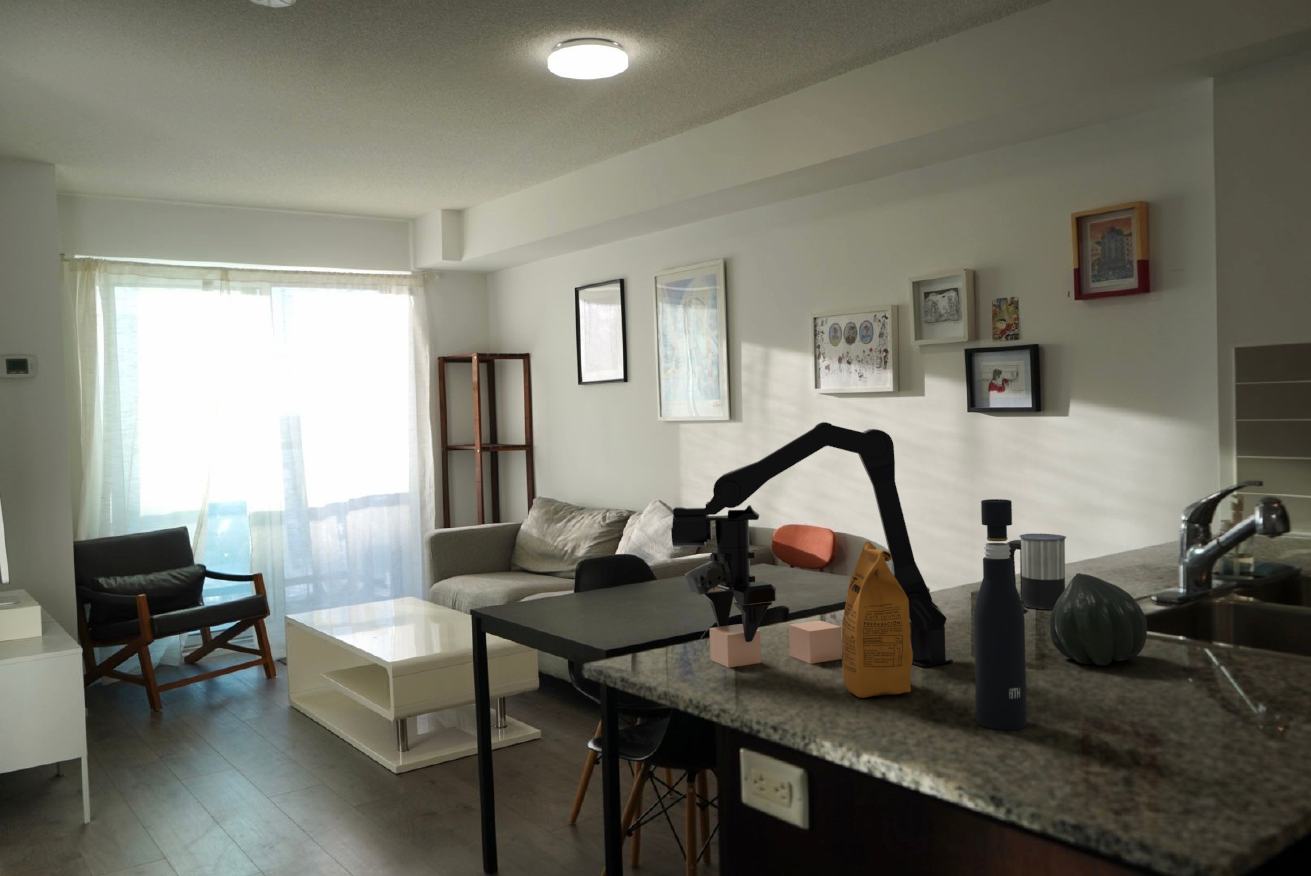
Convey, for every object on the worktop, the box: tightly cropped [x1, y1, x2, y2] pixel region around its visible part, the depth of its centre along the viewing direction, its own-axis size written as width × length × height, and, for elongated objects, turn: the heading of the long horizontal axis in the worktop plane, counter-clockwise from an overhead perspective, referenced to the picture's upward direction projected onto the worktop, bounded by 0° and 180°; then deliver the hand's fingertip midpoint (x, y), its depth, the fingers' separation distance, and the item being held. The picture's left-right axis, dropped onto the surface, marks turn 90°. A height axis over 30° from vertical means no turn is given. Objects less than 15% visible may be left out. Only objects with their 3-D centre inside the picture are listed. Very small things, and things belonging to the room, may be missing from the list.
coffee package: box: [841, 541, 913, 699], centre depth 153 cm, size 10×12×22 cm
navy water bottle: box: [973, 498, 1028, 731], centre depth 135 cm, size 6×6×30 cm
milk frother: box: [1006, 533, 1067, 610], centre depth 210 cm, size 14×16×15 cm
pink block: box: [709, 623, 762, 669], centre depth 173 cm, size 6×6×6 cm
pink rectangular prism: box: [788, 619, 842, 665], centre depth 174 cm, size 6×6×6 cm
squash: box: [1048, 572, 1148, 667], centre depth 167 cm, size 14×15×15 cm
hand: (735, 636), depth 173 cm, fingers open, 9 cm apart
